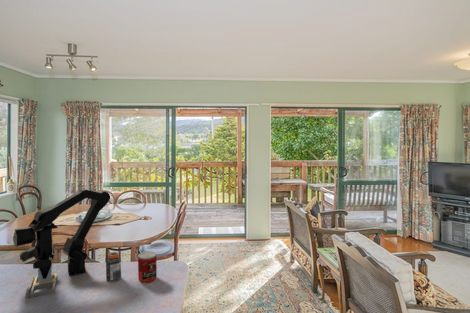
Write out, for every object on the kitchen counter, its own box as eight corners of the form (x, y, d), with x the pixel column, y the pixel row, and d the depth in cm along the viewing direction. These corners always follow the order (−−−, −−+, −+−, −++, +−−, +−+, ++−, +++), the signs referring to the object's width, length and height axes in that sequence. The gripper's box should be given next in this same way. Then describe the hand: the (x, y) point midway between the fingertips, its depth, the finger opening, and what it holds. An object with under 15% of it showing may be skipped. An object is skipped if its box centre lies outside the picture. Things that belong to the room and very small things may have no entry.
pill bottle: (106, 277, 127) (105, 252, 127) (120, 275, 130) (120, 250, 129) (106, 283, 122) (105, 257, 121) (121, 280, 124) (120, 254, 124)
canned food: (142, 285, 120) (142, 259, 120) (135, 278, 126) (135, 253, 126) (159, 279, 125) (159, 254, 125) (151, 273, 131) (151, 249, 131)
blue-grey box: (52, 278, 126) (51, 261, 126) (51, 282, 123) (50, 265, 122) (39, 280, 124) (39, 263, 124) (38, 285, 120) (37, 267, 120)
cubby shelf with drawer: (56, 276, 129) (56, 272, 129) (53, 292, 114) (53, 287, 114) (31, 280, 124) (31, 276, 124) (25, 298, 110) (25, 293, 110)
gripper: (24, 236, 127) (25, 271, 128) (16, 250, 111) (17, 290, 111) (54, 233, 132) (55, 266, 133) (51, 245, 116) (51, 283, 117)
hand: (45, 276), depth 123 cm, fingers closed on blue-grey box, 4 cm apart
